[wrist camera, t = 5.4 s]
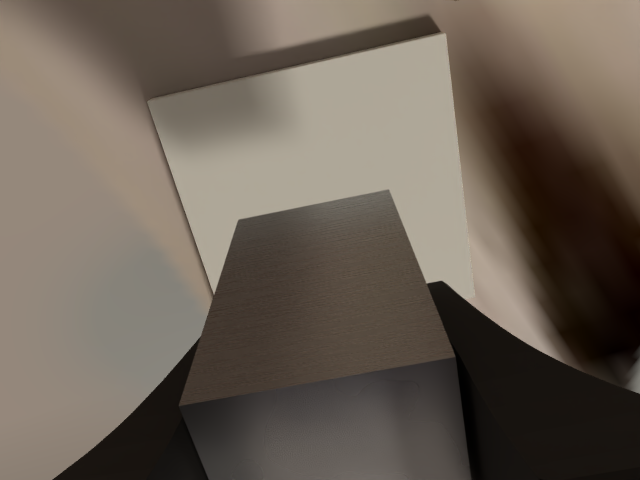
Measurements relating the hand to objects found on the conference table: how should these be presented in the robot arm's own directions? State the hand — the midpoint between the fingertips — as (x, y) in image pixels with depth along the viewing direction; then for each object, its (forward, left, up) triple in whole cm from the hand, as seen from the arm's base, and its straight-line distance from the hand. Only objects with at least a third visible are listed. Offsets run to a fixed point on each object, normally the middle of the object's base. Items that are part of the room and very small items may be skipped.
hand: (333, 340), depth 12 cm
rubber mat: (0, 0, -9) cm, 9 cm away
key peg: (0, 0, -3) cm, 3 cm away
